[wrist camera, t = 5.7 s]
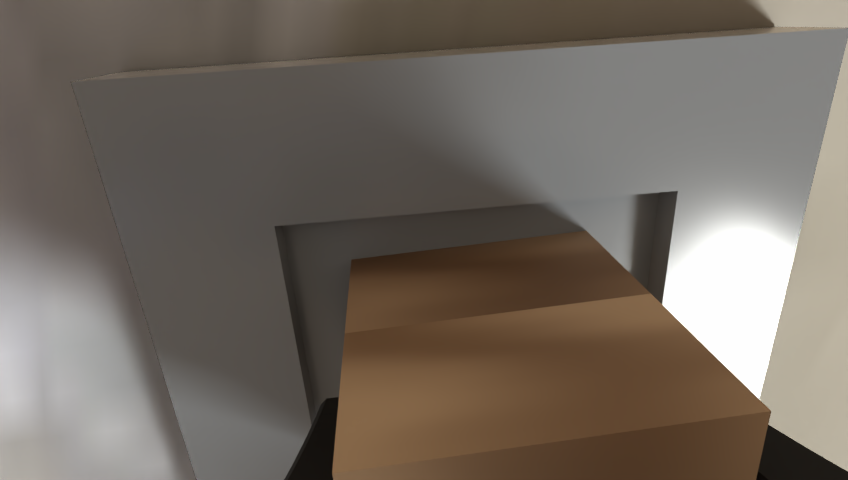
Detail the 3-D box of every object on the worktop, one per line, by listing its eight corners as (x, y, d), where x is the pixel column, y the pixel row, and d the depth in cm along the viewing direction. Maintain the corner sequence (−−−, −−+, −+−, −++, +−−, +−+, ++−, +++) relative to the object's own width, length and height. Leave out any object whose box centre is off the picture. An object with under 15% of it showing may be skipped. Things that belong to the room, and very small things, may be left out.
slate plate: (251, 545, 14) (236, 608, 12) (120, 71, 9) (70, 82, 8) (688, 491, 14) (723, 544, 13) (778, 27, 10) (850, 27, 8)
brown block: (381, 442, 11) (387, 724, 7) (351, 259, 10) (332, 473, 5) (580, 414, 12) (714, 669, 7) (586, 230, 10) (770, 410, 5)
